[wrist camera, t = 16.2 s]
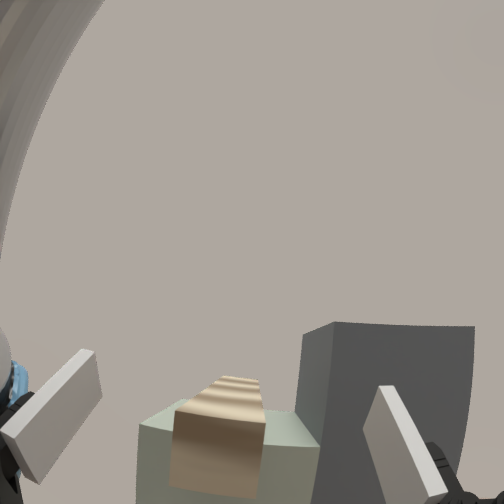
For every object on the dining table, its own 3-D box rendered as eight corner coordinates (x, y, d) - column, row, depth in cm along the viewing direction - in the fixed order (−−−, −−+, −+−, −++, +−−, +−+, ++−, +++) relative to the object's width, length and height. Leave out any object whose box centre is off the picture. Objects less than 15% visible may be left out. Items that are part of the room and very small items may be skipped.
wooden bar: (255, 498, 11) (265, 423, 12) (168, 485, 11) (174, 410, 12) (253, 411, 34) (257, 379, 35) (219, 407, 34) (223, 375, 35)
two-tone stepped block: (413, 586, 14) (474, 326, 23) (138, 585, 15) (154, 301, 24) (370, 531, 29) (403, 339, 38) (172, 523, 30) (192, 322, 39)
